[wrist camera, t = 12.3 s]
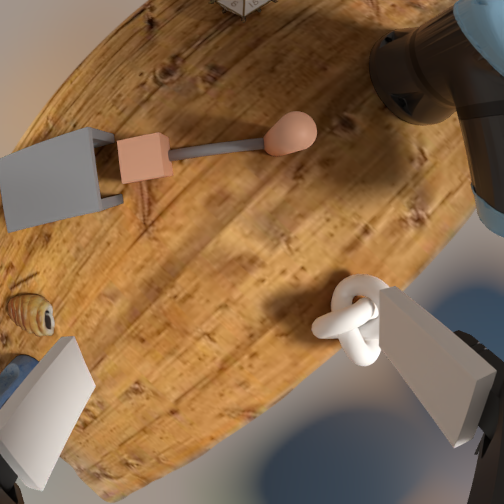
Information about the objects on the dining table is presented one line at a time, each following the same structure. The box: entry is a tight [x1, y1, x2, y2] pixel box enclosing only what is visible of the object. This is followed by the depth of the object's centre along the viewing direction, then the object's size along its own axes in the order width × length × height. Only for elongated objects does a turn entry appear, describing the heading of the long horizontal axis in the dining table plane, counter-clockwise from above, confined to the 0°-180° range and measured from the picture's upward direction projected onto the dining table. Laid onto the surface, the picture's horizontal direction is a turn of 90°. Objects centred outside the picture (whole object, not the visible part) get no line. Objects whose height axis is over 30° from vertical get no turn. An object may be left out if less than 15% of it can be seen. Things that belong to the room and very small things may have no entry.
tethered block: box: [117, 111, 317, 184], centre depth 33 cm, size 20×5×13 cm, turn 97°
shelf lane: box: [0, 127, 123, 233], centre depth 34 cm, size 14×9×8 cm
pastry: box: [8, 294, 55, 337], centre depth 41 cm, size 9×7×4 cm
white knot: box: [311, 274, 389, 366], centre depth 42 cm, size 11×12×9 cm
